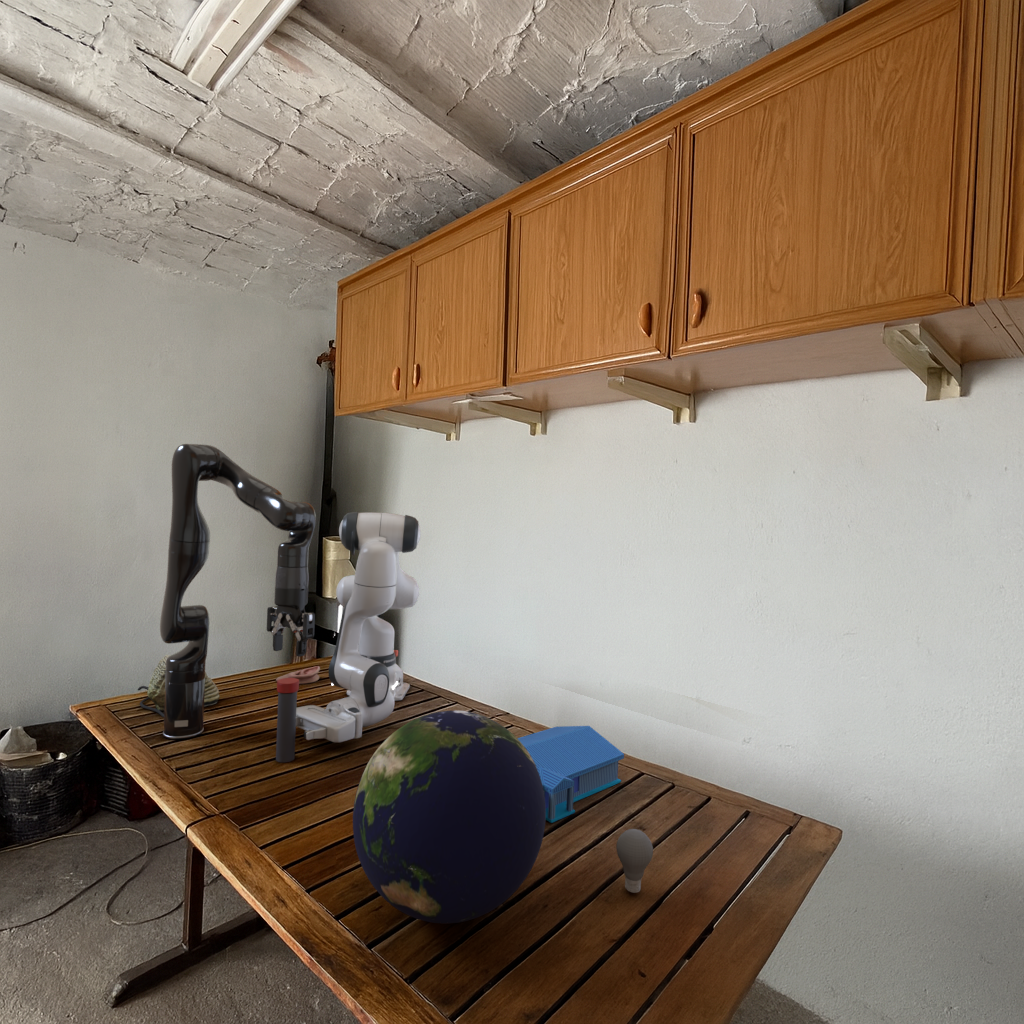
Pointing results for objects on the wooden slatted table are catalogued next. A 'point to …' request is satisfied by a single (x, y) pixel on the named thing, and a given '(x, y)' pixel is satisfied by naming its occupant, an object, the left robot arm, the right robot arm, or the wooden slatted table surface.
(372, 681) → the right robot arm
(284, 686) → the lid
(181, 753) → the wooden slatted table surface
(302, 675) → the anatomical model
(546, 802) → the model building
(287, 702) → the dark gray cylinder
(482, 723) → the globe
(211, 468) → the left robot arm
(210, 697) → the fossil
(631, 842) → the light bulb
